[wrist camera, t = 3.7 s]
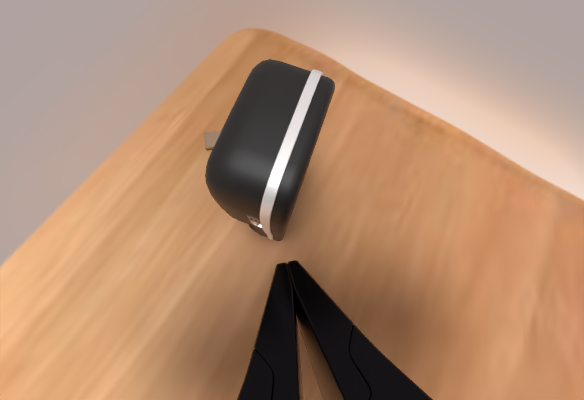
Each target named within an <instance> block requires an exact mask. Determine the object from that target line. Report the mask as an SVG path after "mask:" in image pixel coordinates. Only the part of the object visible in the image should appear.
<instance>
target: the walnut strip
mask: <svg viewBox="0 0 584 400" xmlns="http://www.w3.org/2000/svg"><path fill="white" fill-rule="evenodd" d="M220 133H221V131H214V132H205V133H204V140H205V149H206V150H213V148H214V146H215V144H216V141H217V139H218V137H219V135H220Z"/></svg>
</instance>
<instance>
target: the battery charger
mask: <svg viewBox="0 0 584 400" xmlns="http://www.w3.org/2000/svg"><path fill="white" fill-rule="evenodd" d="M334 89H335V83H334V82H333V80H332V79H330V78H328V77H325V76H323V72H320V71H317V70H312V72H310V71H307V70H304V69H301V68H298V67H296V66H293V65H290V64H287V63H284V62H281V61H276V60H271V59H270V60H265V61H262V62H260V63H259V64H258V65H257V66H255V67H254V68H253V70H252V71H251V73H250V75H249V77H248V79H247V80H246V82H245V84H244V86H243V88H242V90H241V92H240V94H239V96H238V98H237V100H236V102H235V104H234V106H233V108H232V110H231V112H230V114H229V116H228V118H227V120H226V123H225V125H224V127H223V129H222V131H221V133H220V135H219V137H218V139H217V141H216V144H215V146H214V148H213V150H212V152H211V154H210V157H209V159H208V162H207V167H206V175H205V177H206V184H207V186H208V189H209V191H210V193H211V195H212V197H213V198H214V199H215V201H216V202H217V203H218V204H219V205H220V206H221V208H222V209H224V210H225V211H226V212H227V213H228V214H229V215H230V216H231V217H233V218H235V219H237V220H239V221H241V222H244V223H247V224H249V225H250V227H251V228H252V229H253V230H254V231H255V232H257V233H259V234H260V235H262V236H265V237H268V239H270V240H273V239H274V240H277V241H280V240H282V238H283V236H284V233H285V230H286V227H287V225H288V222H289V219H290V216H291V213H292V210H293V208H294V205H295V202H296V199H297V196H298V193H299V190H300V188H301V185H302V182H303V179H304V176H305V173H306V170H307V168H308V165H309V162H310V159H311V156H312V153H313V150H314V147H315V145H316V142H317V139H318V136H319V133H320V130H321V127H322V124H323V122H324V119H325V116H326V113H327V110H328V107H329V104H330V102H331V99H332V96H333V93H334Z"/></svg>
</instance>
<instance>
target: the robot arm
mask: <svg viewBox="0 0 584 400" xmlns="http://www.w3.org/2000/svg"><path fill="white" fill-rule="evenodd" d="M296 316H297V318H296ZM297 320H298V323H299V326H300V329H301V332H302V336H303V339H304V342H305V345H306V348H307V351H308V354H309V357H310V360H311V363H312V366H313V370H314V373H315V376H316V379H317V382H318V385H319V388H320V391H321V394H322V397H323V400H433V399H432V398H430V397H429V396H428V395H427V394H426V393H425V392H424V391H423V390H421V389H420V388H419V387H418V386H417V385H416V384H415V383H414V382H413V381H412V380H410V379H409V378H408V377H407V376H406V375H405V374H404V373H403V372H402V371H401V370H400V369H398V368H397V367H396V366H395V365H394V364H393V363H392V362H391V361H390V360H389V359H388V358H386V357H385V356H384V355H383V354H382V353H381V352H380V351H379V350H378V349H377V348H376V347H375V346H374V345H373V344H372V343H371V342H370V341H369V340H368V339H367V338H366V337H365V335H364V334H363V333H362V332H361V331H360V330H359V329H358V328H357V327H356V326H355V325H353V322H352V321H351V320H350V319H349V318H348V317H347V316H346V315H345V313H344V312H343V311H342V310H341V309H340V308H339V307H338V306H337V304H336V303H335V302H334V301H333V300H332V299H331V298H330V297H329V296H328V294H327V293H326V292H325V291H324V290H323V289H322V288H321V287H320V286H319V284H318V283H317V282H316V281H315V280H314V279H313V278H312V277H311V275H310V274H309V273H308V272H307V271H306V270H305V269H304V268H303V267H302V265H301V264H300V263H299V262H298V261H290V262H288V263H280V264H277V266H276V269H275V272H274V276H273V280H272V283H271V287H270V291H269V294H268V298H267V301H266V305H265V309H264V312H263V316H262V320H261V323H260V327H259V331H258V334H257V338H256V341H255V345H254V349H253V352H252V356H251V359H250V363H249V366H248V369H247V372H246V376H245V379H244V382H243V385H242V388H241V390H240V393H239V396H238V399H237V400H303V391H302V379H301V366H300V354H299V341H298V329H297Z"/></svg>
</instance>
